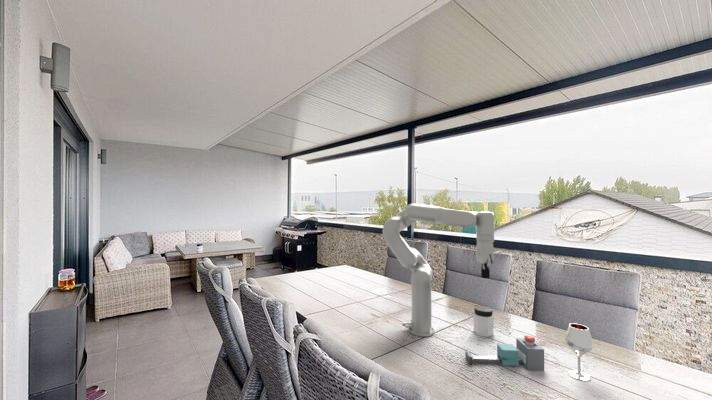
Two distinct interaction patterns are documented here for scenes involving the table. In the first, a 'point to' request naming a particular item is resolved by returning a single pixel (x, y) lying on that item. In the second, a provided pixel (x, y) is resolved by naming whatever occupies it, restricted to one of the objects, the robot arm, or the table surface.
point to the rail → (485, 359)
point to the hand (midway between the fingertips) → (485, 277)
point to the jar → (483, 321)
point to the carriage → (508, 354)
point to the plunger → (529, 340)
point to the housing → (530, 355)
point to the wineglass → (579, 346)
